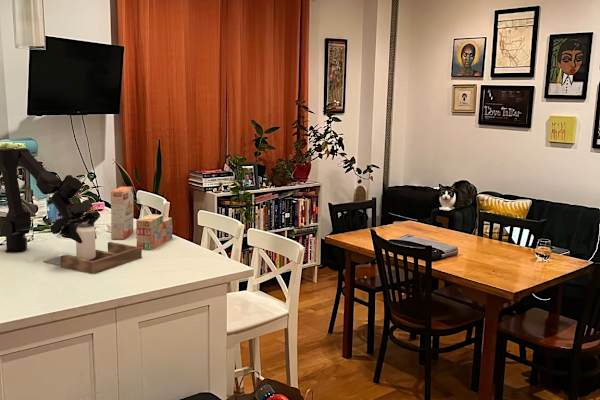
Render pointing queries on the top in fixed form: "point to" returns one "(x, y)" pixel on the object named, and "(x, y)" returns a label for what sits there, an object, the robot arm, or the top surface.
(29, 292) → the top surface
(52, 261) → the mat
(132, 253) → the shelf lanes
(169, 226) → the stack of blocks
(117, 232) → the cracker box
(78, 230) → the can
